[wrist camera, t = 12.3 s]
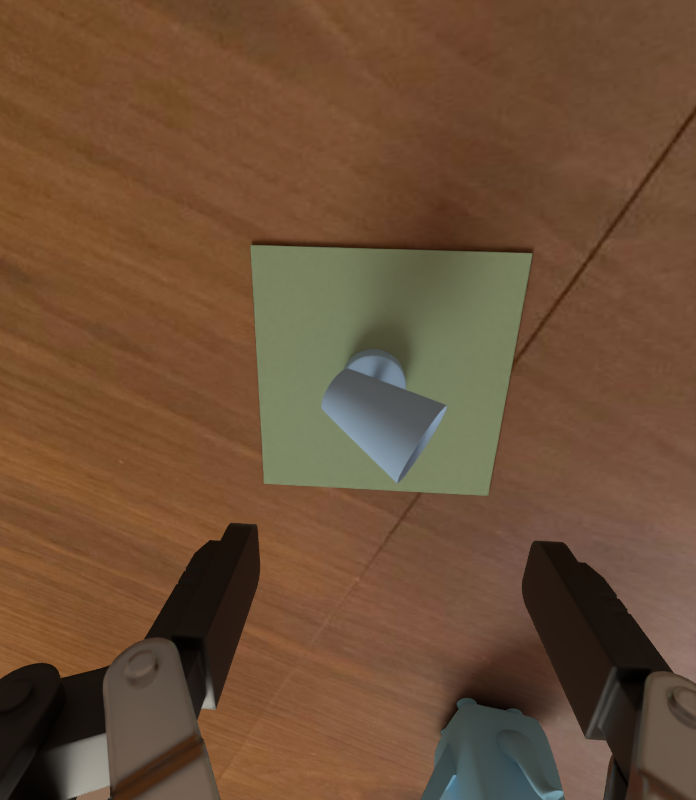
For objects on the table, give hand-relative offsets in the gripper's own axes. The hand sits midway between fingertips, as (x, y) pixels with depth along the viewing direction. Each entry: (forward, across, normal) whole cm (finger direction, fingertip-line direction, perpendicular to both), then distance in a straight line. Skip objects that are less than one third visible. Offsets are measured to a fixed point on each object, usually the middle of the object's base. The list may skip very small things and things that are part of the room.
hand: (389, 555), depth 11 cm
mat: (+17, 0, 0) cm, 17 cm away
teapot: (+17, -12, +37) cm, 43 cm away
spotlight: (+17, 0, 0) cm, 17 cm away
